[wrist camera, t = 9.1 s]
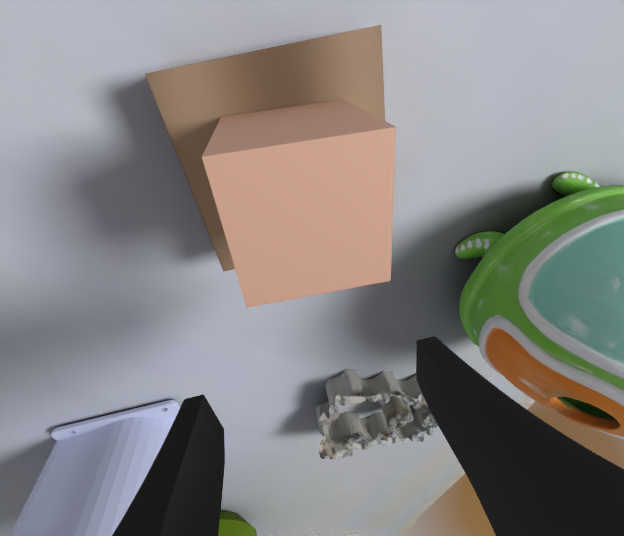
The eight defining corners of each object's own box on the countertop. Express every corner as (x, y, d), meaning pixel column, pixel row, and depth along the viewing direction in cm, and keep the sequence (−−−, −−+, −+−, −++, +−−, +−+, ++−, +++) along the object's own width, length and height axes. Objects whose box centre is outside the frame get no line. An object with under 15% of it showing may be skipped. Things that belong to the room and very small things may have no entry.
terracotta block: (248, 227, 16) (246, 307, 11) (221, 117, 13) (201, 156, 8) (348, 210, 16) (390, 281, 11) (342, 99, 13) (395, 126, 8)
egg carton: (306, 415, 30) (313, 461, 26) (333, 359, 26) (345, 404, 23) (406, 420, 33) (423, 462, 29) (442, 370, 29) (467, 411, 26)
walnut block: (226, 244, 19) (223, 271, 17) (163, 71, 14) (144, 73, 12) (372, 210, 20) (389, 232, 17) (359, 30, 15) (381, 24, 12)
